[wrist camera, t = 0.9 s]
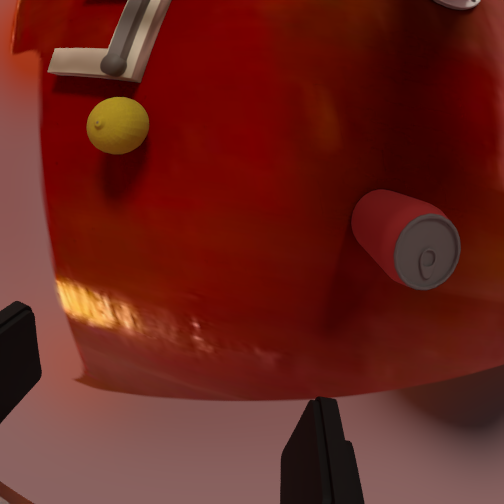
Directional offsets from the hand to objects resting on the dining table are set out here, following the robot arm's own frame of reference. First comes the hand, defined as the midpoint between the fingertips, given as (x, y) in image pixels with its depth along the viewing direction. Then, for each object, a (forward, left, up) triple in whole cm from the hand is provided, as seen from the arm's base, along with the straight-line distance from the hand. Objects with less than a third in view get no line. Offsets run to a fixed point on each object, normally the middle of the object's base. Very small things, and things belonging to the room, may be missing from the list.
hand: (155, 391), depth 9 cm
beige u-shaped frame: (-19, -20, -25) cm, 37 cm away
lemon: (-7, -13, -25) cm, 29 cm away
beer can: (-5, +14, -25) cm, 29 cm away
